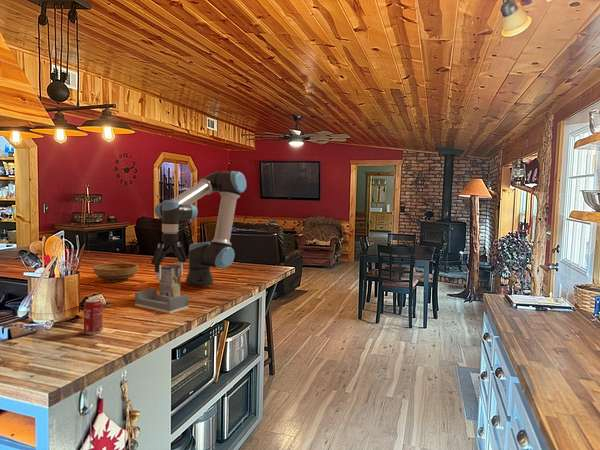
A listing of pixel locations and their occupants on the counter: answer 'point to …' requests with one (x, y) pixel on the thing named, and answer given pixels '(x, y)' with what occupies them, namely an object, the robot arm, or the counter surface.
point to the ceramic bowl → (115, 271)
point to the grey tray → (161, 301)
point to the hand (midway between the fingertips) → (169, 277)
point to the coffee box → (170, 281)
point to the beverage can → (93, 316)
